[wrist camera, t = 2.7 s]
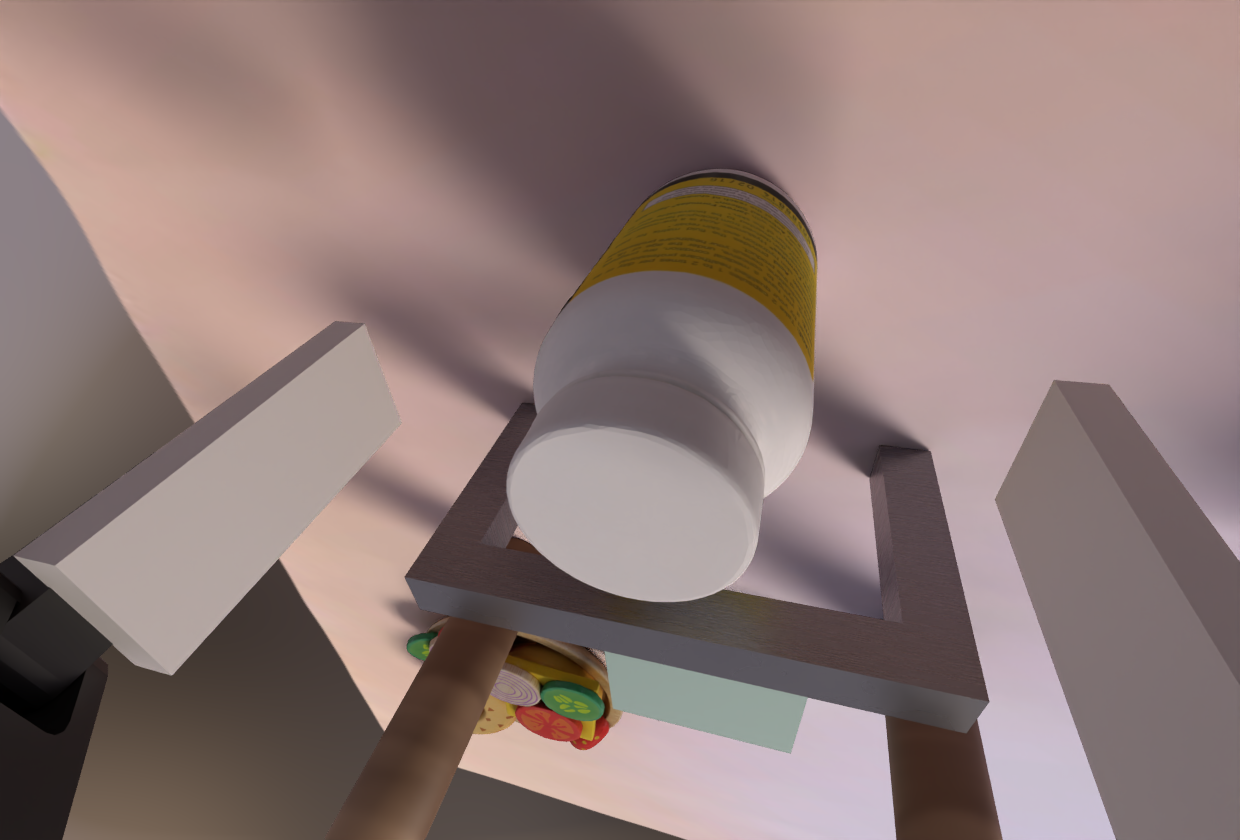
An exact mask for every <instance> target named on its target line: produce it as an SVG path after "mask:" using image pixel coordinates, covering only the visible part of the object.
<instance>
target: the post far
mask: <svg viewBox="0 0 1240 840" xmlns="http://www.w3.org/2000/svg"><path fill="white" fill-rule="evenodd" d="M506 548H507V549H512V550H517V551H522V552H528V553H533V554H538V555H542V554H541V553H540V552H539V551H538V550H537V549H536V548H535V547H534V546H532V545H531V544H529V543H527V542H525V541H523V540H520V539H517V538H513V537H511V539H510V541H509V543H508V545H507V546H506ZM517 633H518V631H514V630H509V629H505V628H501V627H496V626H492V625H487V624H483V623H479V622H474V621H470V620H465V619H461V618H457V617H452V616H450V617H449V619H448V621H447V622H446V624H445V626H444V628H443V629H442V631H441V633H440V635H439V636H438V638H437V640H436V642H435V644H434V645H433V647H432V649H431V651H430V652H429V654H428V656H427V658H426V659H425V661H424V663H423V665H422V667H421V668H420V670H419V672H418V674H417V675H416V677H415V679H414V681H413V682H412V684H411V686H410V688H409V690H408V691H407V693H406V695H405V697H404V698H403V700H402V702H401V704H400V705H399V707H398V709H397V711H396V713H395V714H394V716H393V718H392V720H391V721H390V723H389V725H388V727H387V728H386V730H385V732H384V734H383V736H382V737H381V739H380V741H379V743H378V744H377V746H376V748H375V750H374V752H373V753H372V755H371V757H370V759H369V761H368V762H367V764H366V766H365V768H364V769H363V771H362V773H361V775H360V777H359V778H358V780H357V782H356V783H355V785H354V787H353V789H352V790H351V792H350V794H349V796H348V798H347V799H346V801H345V803H344V805H343V807H342V808H341V810H340V812H339V814H338V815H337V817H336V819H335V821H334V822H333V824H332V826H331V828H330V829H329V831H328V833H327V835H326V836H325V838H324V840H425V838H426V836H427V834H428V832H429V829H430V827H431V825H432V823H433V820H434V818H435V816H436V814H437V811H438V809H439V807H440V805H441V803H442V800H443V798H444V796H445V794H446V791H447V789H448V787H449V785H450V783H451V780H452V778H453V776H454V774H455V771H456V769H457V767H458V765H459V763H460V760H461V758H462V756H463V754H464V751H465V749H466V747H467V745H468V743H469V740H470V738H471V736H472V734H473V731H474V729H475V727H476V725H477V722H478V720H479V718H480V716H481V714H482V711H483V709H484V707H485V705H486V702H487V700H488V698H489V696H490V694H491V691H492V689H493V687H494V685H495V682H496V680H497V678H498V676H499V674H500V671H501V669H502V667H503V665H504V662H505V660H506V658H507V656H508V653H509V651H510V649H511V647H512V645H513V642H514V640H515V638H516V636H517Z"/></svg>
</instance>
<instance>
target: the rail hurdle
mask: <svg viewBox="0 0 1240 840" xmlns="http://www.w3.org/2000/svg"><path fill="white" fill-rule="evenodd" d="M536 416H537V412H536V408H535V404H526V403H522V404H521V405H520V407H519V408H518V410H517V411H516V412H515V414H514V415H513V417H512V418H511V420H510V421H509V423H508V424H507V426H506V427H505V429H504V430H503V432H502V433H501V435H500V436H499V438H498V439H497V441H496V442H495V444H494V445H493V447H492V448H491V450H490V451H489V453H488V454H487V455H486V457H485V458H484V460H483V461H482V463H481V464H480V466H479V467H478V469H477V470H476V472H475V473H474V475H473V476H472V478H471V479H470V481H469V482H468V484H467V485H466V487H465V488H464V490H463V491H462V493H461V494H460V495H459V497H458V498H457V500H456V501H455V503H454V504H453V506H452V507H451V509H450V510H449V512H448V513H447V515H446V516H445V518H444V519H443V521H442V522H441V524H440V525H439V527H438V528H437V530H436V531H435V533H434V534H433V536H432V537H431V538H430V540H429V541H428V543H427V544H426V546H425V547H424V549H423V550H422V552H421V553H420V555H419V556H418V558H417V559H416V561H415V562H414V564H413V565H412V567H411V568H410V570H409V571H408V573H407V574H406V576H405V579H406V581H407V583H408V585H409V587H410V589H411V591H412V593H413V596H414V598H415V600H416V602H417V604H418V606H419V608H420V609H422V610H426V611H430V612H435V613H439V614H443V615H448V616H452V617H457V618H461V619H465V620H470V621H474V622H479V623H483V624H487V625H492V626H496V627H501V628H505V629H509V630H514V631H518V632H522V633H527V634H531V635H536V636H540V637H544V638H549V639H553V640H558V641H562V642H566V643H571V644H575V645H580V646H584V647H588V648H593V649H597V650H602V651H606V652H610V653H615V654H619V655H623V656H628V657H632V658H637V659H641V660H645V661H650V662H654V663H659V664H663V665H667V666H672V667H676V668H681V669H685V670H689V671H694V672H698V673H703V674H707V675H711V676H716V677H720V678H724V679H729V680H733V681H738V682H742V683H746V684H751V685H755V686H760V687H764V688H768V689H773V690H777V691H782V692H786V693H790V694H795V695H799V696H804V697H808V698H812V699H817V700H821V701H825V702H830V703H834V704H839V705H843V706H847V707H852V708H856V709H861V710H865V711H869V712H874V713H878V714H883V715H887V716H891V717H896V718H900V719H905V720H909V721H913V722H918V723H922V724H926V725H931V726H935V727H940V728H944V729H948V730H953V731H957V732H962V733H967V732H968V730H969V729H970V728H971V726H972V725H973V724H974V722H975V721H976V719H977V718H978V717H979V715H980V714H981V713H982V711H983V710H984V708H985V707H986V706H987V704H988V703H989V698H988V694H987V690H986V685H985V681H984V677H983V673H982V668H981V664H980V660H979V656H978V651H977V647H976V643H975V639H974V634H973V630H972V626H971V621H970V617H969V613H968V609H967V604H966V600H965V596H964V592H963V587H962V583H961V579H960V574H959V570H958V566H957V562H956V557H955V553H954V549H953V545H952V540H951V536H950V532H949V528H948V523H947V519H946V515H945V510H944V506H943V502H942V498H941V493H940V489H939V485H938V481H937V476H936V472H935V468H934V463H933V459H932V455H931V451H922V450H914V449H906V448H897V447H889V446H880V445H879V449H878V452H877V455H876V459H875V462H874V465H873V469H872V472H871V476H870V489H871V499H872V508H873V518H874V528H875V538H876V547H877V557H878V567H879V577H880V587H881V596H882V606H883V616H884V620H882V619H876V618H871V617H866V616H861V615H855V614H850V613H845V612H839V611H834V610H829V609H824V608H818V607H813V606H808V605H802V604H797V603H792V602H787V601H781V600H776V599H771V598H766V597H760V596H755V595H750V594H744V593H739V592H734V591H729V590H721V591H719V592H716V593H714V594H712V595H709V596H705V597H702V598H699V599H694V600H689V601H679V602H652V601H644V600H637V599H632V598H626V597H622V596H619V595H615V594H612V593H609V592H606V591H603V590H600V589H598V588H595V587H593V586H591V585H588V584H586V583H584V582H582V581H580V580H578V579H576V578H574V577H572V576H571V575H569V574H568V573H566V572H565V571H563V570H561V569H560V568H558V567H557V566H555V565H554V564H553V563H552V562H551V561H549V560H548V559H547V558H546V557H545V556H543V555H538V554H533V553H528V552H522V551H517V550H512V549H507V548H506V546H507V545H508V543H509V541H510V539H511V537H512V535H513V533H514V531H515V530H516V528H517V526H518V524H517V523H516V521H515V519H514V517H513V515H512V512H511V509H510V506H509V503H508V498H507V492H506V480H507V473H508V469H509V465H510V462H511V460H512V458H513V456H514V454H515V452H516V450H517V449H518V447H519V445H520V444H521V442H522V441H523V439H524V437H525V436H526V434H527V432H528V431H529V429H530V427H531V425H532V423H533V421H534V420H535V418H536Z"/></svg>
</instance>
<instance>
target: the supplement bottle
mask: <svg viewBox="0 0 1240 840" xmlns="http://www.w3.org/2000/svg"><path fill="white" fill-rule="evenodd" d="M817 271H818V265H817V251H816V246H815V241H814V237H813V234H812V231H811V229H810V227H809V224H808V222H807V220H806V219H805V217H804V215H803V213H802V212H801V210H800V209H799V207H798V206H797V205H796V204H795V203H794V201H793V200H792V199H791V198H790V197H789V196H788V195H787V194H786V193H784V192H783V191H782V190H781V189H779V188H778V187H777V186H775V185H774V184H772V183H770V182H769V181H767V180H765V179H763V178H760V177H758V176H756V175H753V174H750V173H747V172H743V171H739V170H733V169H708V170H702V171H696V172H692V173H689V174H686V175H683V176H680V177H678V178H676V179H674V180H672V181H670V182H668V183H666V184H665V185H663V186H662V187H660V188H659V189H657V190H656V191H655V192H653V193H652V194H651V195H650V196H649V197H648V198H647V199H646V200H645V201H644V202H643V203H642V204H641V206H640V207H639V208H638V209H637V210H636V211H635V212H634V214H633V215H632V216H631V218H630V219H629V220H628V222H627V223H626V225H625V226H624V227H623V229H622V230H621V231H620V233H619V234H618V235H617V237H616V238H615V239H614V240H613V242H612V243H611V245H610V246H609V247H608V249H607V250H606V252H605V253H604V254H603V255H602V257H601V258H600V259H599V261H598V262H597V264H596V265H595V266H594V267H593V269H592V270H591V272H590V273H589V274H588V276H587V277H586V278H585V280H584V281H583V282H582V284H581V285H580V286H579V288H578V289H577V290H576V292H575V293H574V295H573V296H572V297H571V298H570V299H569V300H568V301H567V303H566V304H565V306H564V307H563V308H562V310H561V312H560V313H559V315H558V317H557V318H556V320H555V321H554V323H553V325H552V326H551V328H550V329H549V331H548V333H547V335H546V336H545V338H544V340H543V342H542V344H541V347H540V350H539V353H538V356H537V359H536V364H535V369H534V380H533V393H534V401H535V408H536V412H537V416H536V418H535V420H534V421H533V423H532V425H531V427H530V429H529V431H528V432H527V434H526V436H525V437H524V439H523V441H522V442H521V444H520V445H519V447H518V449H517V450H516V452H515V454H514V456H513V458H512V460H511V462H510V465H509V469H508V473H507V480H506V492H507V498H508V503H509V506H510V509H511V512H512V515H513V517H514V519H515V521H516V523H517V524H518V526H519V528H520V529H521V531H522V532H523V533H524V535H525V536H526V538H527V539H528V540H529V542H530V543H531V544H532V545H533V546H534V547H535V548H536V549H537V550H538V551H539V552H540V553H541V554H542V555H543V556H545V557H546V558H547V559H548V560H549V561H551V562H552V563H553V564H554V565H555V566H557V567H558V568H560V569H561V570H563V571H565V572H566V573H568V574H569V575H571V576H572V577H574V578H576V579H578V580H580V581H582V582H584V583H586V584H588V585H591V586H593V587H595V588H598V589H600V590H603V591H606V592H609V593H612V594H615V595H619V596H622V597H626V598H632V599H637V600H644V601H652V602H679V601H689V600H694V599H699V598H702V597H705V596H709V595H712V594H714V593H716V592H719V591H721V590H723V589H724V588H726V587H727V586H729V585H731V584H732V583H734V582H735V581H736V580H737V579H738V578H739V577H740V576H741V575H742V574H743V573H744V572H745V570H746V569H747V567H748V566H749V564H750V563H751V561H752V559H753V556H754V554H755V551H756V547H757V544H758V537H759V530H760V522H761V514H762V506H763V500H764V498H765V497H766V496H768V495H769V494H771V493H772V492H773V491H774V490H775V489H776V488H778V487H779V486H780V485H781V484H782V483H783V482H784V481H785V480H786V479H787V478H788V476H789V475H790V474H791V473H792V471H793V470H794V468H795V467H796V465H797V464H798V462H799V460H800V459H801V457H802V455H803V453H804V450H805V448H806V446H807V443H808V439H809V435H810V431H811V426H812V418H813V404H814V364H815V336H816V305H817Z"/></svg>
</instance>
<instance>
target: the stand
mask: <svg viewBox="0 0 1240 840" xmlns="http://www.w3.org/2000/svg"><path fill="white" fill-rule="evenodd" d="M604 652H605V659H606V665H607V672H608V679H609V686H610V692H611V699H612V706H613V709H616V710H620V711H624V712H628V713H632V714H636V715H640V716H644V717H648V718H652V719H656V720H660V721H664V722H668V723H672V724H676V725H680V726H683V727H687V728H691V729H695V730H699V731H703V732H707V733H711V734H715V735H719V736H723V737H727V738H731V739H735V740H739V741H743V742H747V743H751V744H755V745H759V746H763V747H766V748H770V749H774V750H778V751H782V752H786V753H790V754H791V751H792V747H793V744H794V741H795V738H796V734H797V731H798V728H799V724H800V721H801V718H802V714H803V711H804V708H805V705H806V701H807V698H808V697H804V696H799V695H795V694H790V693H786V692H782V691H777V690H773V689H768V688H764V687H760V686H755V685H751V684H746V683H742V682H738V681H733V680H729V679H724V678H720V677H716V676H711V675H707V674H703V673H698V672H694V671H689V670H685V669H681V668H676V667H672V666H667V665H663V664H659V663H654V662H650V661H645V660H641V659H637V658H632V657H628V656H623V655H619V654H615V653H610V652H606V651H604Z"/></svg>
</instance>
